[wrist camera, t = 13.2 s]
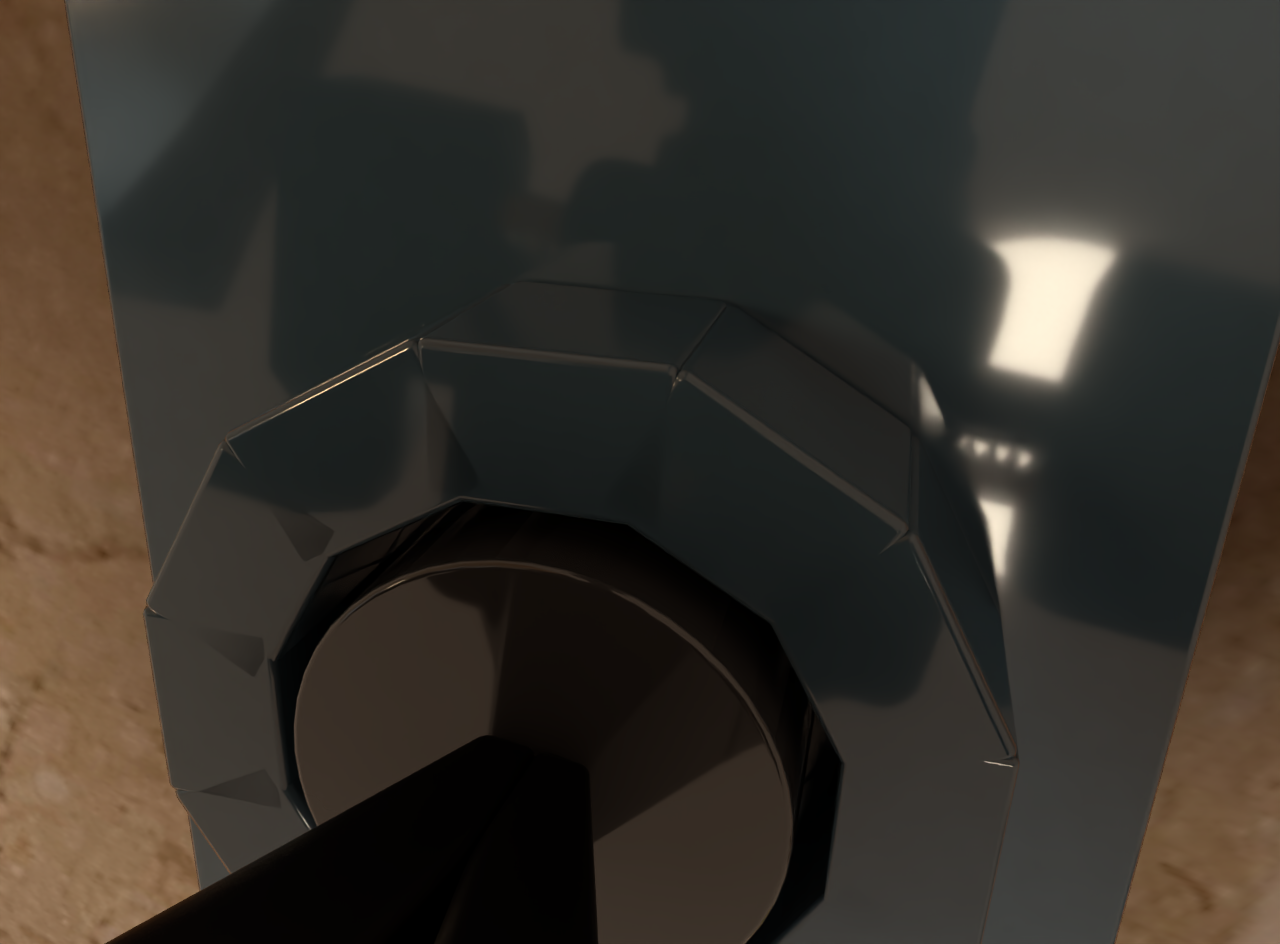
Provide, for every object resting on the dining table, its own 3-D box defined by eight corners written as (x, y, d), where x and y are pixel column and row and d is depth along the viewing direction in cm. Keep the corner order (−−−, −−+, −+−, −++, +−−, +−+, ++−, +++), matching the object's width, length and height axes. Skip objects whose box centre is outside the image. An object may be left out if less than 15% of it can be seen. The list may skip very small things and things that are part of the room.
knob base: (183, -167, 10) (-214, -279, 7) (1327, -163, 8) (1634, -317, 5) (290, 826, 15) (88, 1076, 11) (1044, 990, 13) (1090, 1360, 9)
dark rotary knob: (392, 433, 10) (268, 524, 8) (843, 490, 9) (821, 609, 7) (412, 792, 11) (310, 942, 9) (796, 871, 10) (770, 1051, 9)
